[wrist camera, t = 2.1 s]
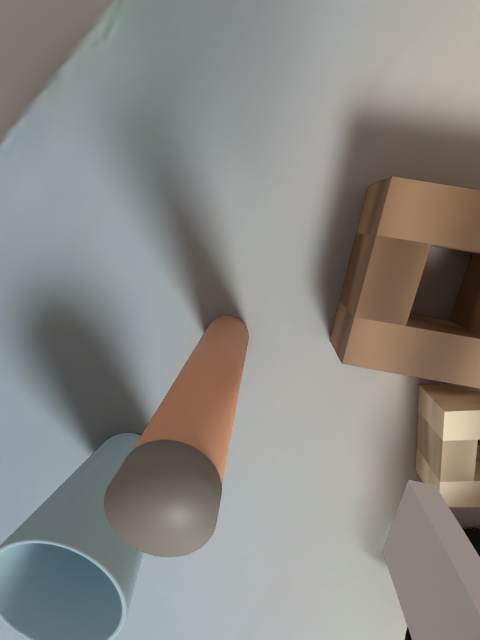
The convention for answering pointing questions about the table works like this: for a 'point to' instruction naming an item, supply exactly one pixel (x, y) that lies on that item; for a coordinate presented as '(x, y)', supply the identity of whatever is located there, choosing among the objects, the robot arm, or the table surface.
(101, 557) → the cup
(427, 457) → the bead beech
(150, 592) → the table surface
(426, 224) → the brown wooden square frame
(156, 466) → the dowel
